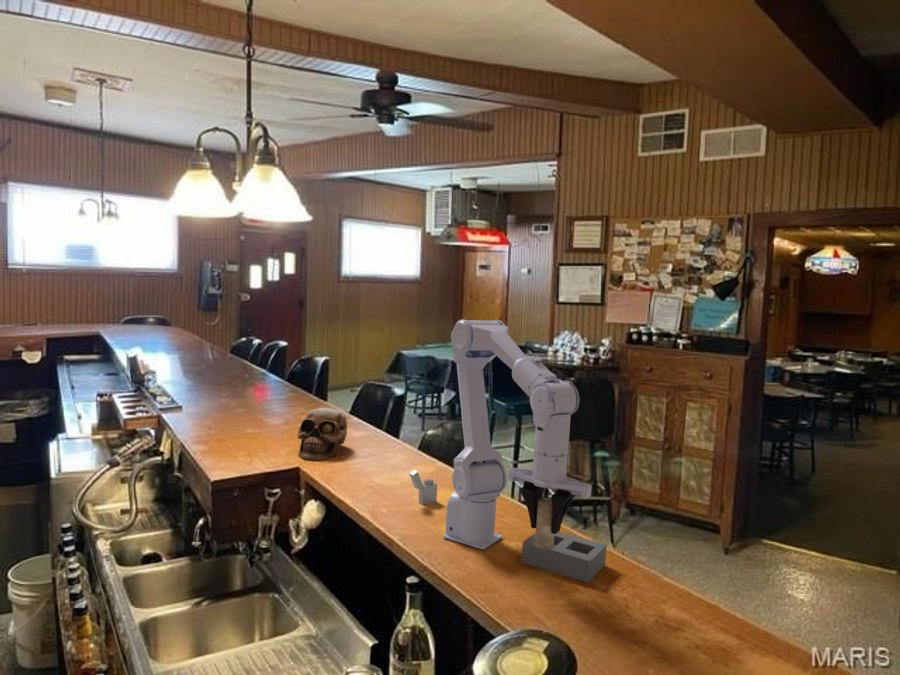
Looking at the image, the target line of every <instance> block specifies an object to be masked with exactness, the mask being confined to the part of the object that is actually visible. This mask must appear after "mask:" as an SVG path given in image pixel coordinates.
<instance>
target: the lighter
mask: <svg viewBox="0 0 900 675" xmlns="http://www.w3.org/2000/svg"><path fill="white" fill-rule="evenodd" d="M408 475H409V476H410V480H411V482H412V484H413V487H414V488H415V489H417V490H418V504H420V505H427V504H433V503H436V502H437V500H438V499H437V498H438V483H437V482H435V481H434V479H431V478H429V479H424V480H423V482H422V479H421V476H420V474H419V472H418V471H417V470H414V469H413V470H411V471H410V472H409V474H408Z"/></svg>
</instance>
